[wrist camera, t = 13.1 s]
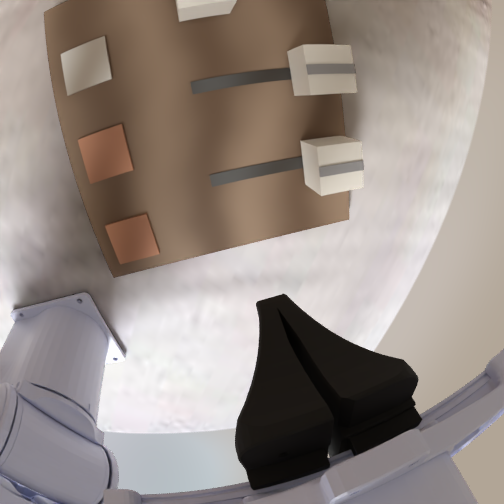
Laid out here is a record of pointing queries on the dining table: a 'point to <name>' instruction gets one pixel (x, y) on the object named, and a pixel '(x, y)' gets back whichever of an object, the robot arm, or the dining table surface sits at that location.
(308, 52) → the slider middle
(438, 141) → the dining table surface
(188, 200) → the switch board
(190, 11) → the slider
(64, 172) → the dining table surface
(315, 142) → the slider
